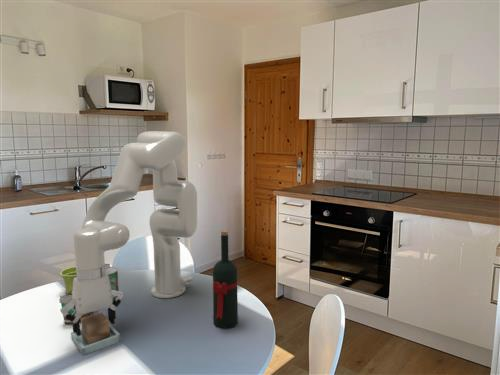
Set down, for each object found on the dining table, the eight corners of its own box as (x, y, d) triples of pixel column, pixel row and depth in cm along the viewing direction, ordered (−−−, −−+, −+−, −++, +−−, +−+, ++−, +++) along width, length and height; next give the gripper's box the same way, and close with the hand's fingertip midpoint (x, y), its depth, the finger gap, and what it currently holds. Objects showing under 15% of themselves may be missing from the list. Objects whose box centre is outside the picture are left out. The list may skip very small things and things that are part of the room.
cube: (102, 330, 116) (101, 312, 114) (110, 338, 111) (108, 319, 110) (82, 337, 112) (80, 318, 111) (88, 346, 107) (87, 326, 106)
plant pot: (81, 285, 149) (79, 264, 148) (95, 291, 144) (93, 269, 142) (57, 294, 142) (55, 271, 140) (71, 300, 136) (69, 277, 135)
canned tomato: (90, 302, 135) (88, 273, 133) (106, 293, 142) (104, 265, 140) (109, 306, 132) (107, 276, 130) (123, 296, 139) (122, 268, 138)
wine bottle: (206, 330, 116) (204, 236, 111) (218, 314, 126) (216, 227, 121) (231, 334, 114) (230, 238, 109) (241, 318, 124) (240, 228, 119)
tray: (107, 326, 119) (107, 320, 118) (120, 341, 111) (120, 335, 110) (71, 338, 112) (71, 332, 112) (82, 355, 104) (82, 348, 104)
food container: (79, 328, 118) (76, 298, 116) (61, 326, 119) (58, 296, 117) (102, 309, 130) (100, 282, 128) (85, 308, 131) (83, 280, 129)
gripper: (116, 261, 116) (119, 313, 119) (54, 275, 105) (59, 332, 108) (126, 268, 111) (129, 323, 113) (61, 284, 100) (66, 344, 102)
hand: (95, 327), depth 111 cm, fingers open, 9 cm apart
